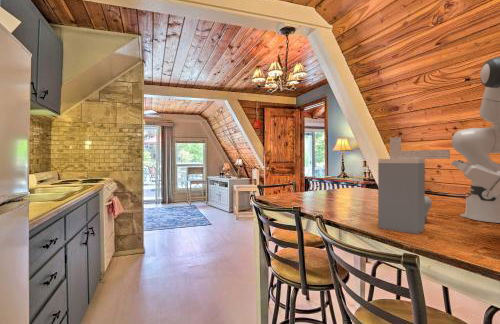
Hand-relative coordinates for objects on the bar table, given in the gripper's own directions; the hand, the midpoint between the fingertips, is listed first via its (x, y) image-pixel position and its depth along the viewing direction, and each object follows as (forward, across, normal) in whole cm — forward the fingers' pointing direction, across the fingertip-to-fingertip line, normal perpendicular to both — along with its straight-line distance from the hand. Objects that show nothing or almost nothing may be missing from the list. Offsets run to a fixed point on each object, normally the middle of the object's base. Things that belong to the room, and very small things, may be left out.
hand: (454, 161), depth 91 cm
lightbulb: (-2, -17, +28) cm, 33 cm away
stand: (+1, 0, +30) cm, 30 cm away
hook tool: (+10, 0, +4) cm, 11 cm away
